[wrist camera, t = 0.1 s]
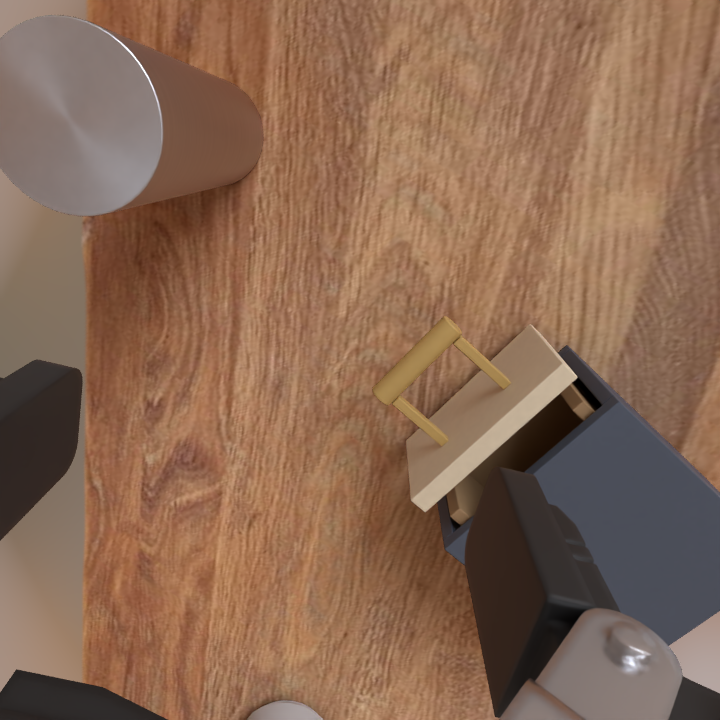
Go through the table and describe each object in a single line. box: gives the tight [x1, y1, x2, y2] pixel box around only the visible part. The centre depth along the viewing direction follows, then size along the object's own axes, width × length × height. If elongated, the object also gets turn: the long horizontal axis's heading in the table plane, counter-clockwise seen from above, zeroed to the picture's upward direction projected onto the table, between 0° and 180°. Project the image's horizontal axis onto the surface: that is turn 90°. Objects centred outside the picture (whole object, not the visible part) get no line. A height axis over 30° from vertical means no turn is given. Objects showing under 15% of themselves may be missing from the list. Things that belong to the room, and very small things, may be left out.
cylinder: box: [0, 15, 263, 216], centre depth 27 cm, size 6×6×17 cm
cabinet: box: [437, 345, 720, 646], centre depth 37 cm, size 15×13×9 cm
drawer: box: [372, 316, 601, 526], centre depth 36 cm, size 19×11×7 cm, turn 48°
